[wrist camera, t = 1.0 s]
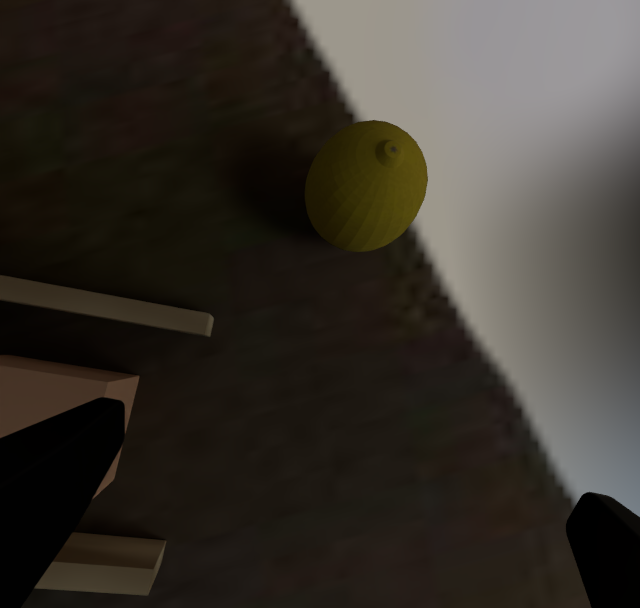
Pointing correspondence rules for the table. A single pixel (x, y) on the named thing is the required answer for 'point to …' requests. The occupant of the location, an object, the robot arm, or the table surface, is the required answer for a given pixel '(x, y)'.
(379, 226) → the lemon
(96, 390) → the block
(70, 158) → the table surface
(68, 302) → the box
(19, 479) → the robot arm
